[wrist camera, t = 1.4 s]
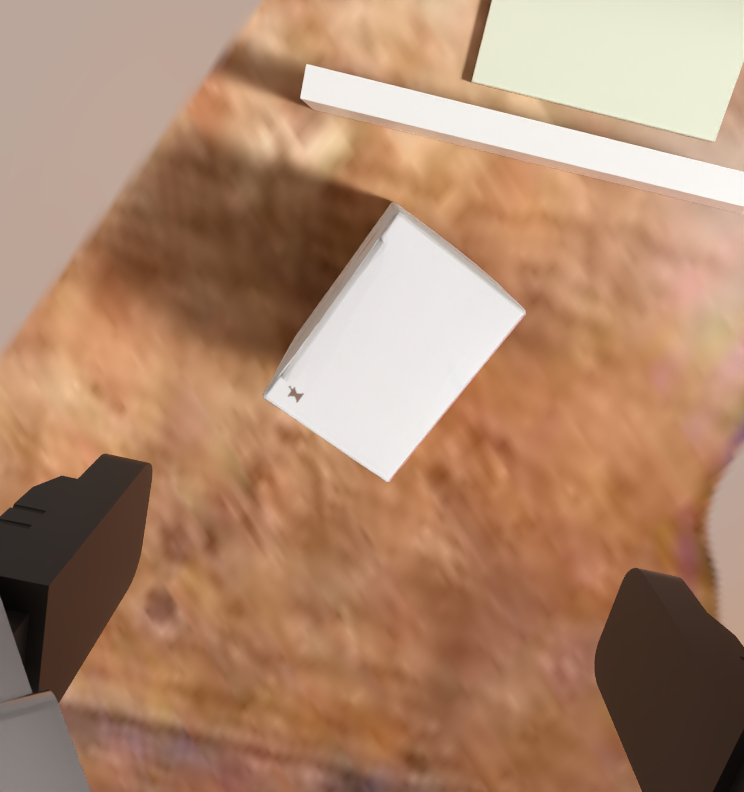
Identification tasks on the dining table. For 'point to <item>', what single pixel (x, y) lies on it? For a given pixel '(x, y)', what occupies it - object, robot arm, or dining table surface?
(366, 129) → the dining table surface
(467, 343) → the small box
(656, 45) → the sage mat
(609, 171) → the white wall
